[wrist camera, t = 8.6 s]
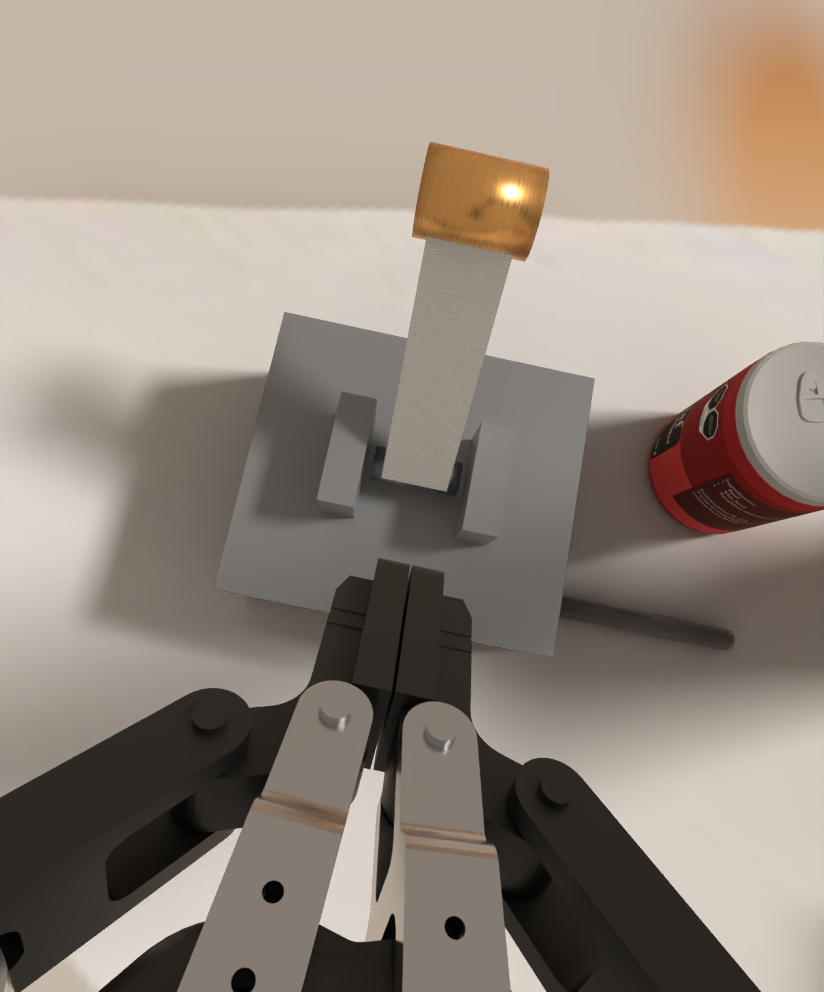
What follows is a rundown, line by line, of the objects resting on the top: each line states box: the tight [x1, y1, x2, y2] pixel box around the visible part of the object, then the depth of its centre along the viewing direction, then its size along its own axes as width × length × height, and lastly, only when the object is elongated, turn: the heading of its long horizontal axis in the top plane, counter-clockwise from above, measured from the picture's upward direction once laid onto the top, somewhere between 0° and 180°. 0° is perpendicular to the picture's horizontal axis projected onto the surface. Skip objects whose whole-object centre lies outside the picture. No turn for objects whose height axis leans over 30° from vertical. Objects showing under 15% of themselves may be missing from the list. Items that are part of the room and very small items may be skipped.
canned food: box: [649, 342, 824, 534], centre depth 36 cm, size 8×8×11 cm
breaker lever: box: [370, 142, 549, 497], centre depth 26 cm, size 4×3×14 cm
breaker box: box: [214, 312, 735, 657], centre depth 34 cm, size 29×14×11 cm, turn 79°
